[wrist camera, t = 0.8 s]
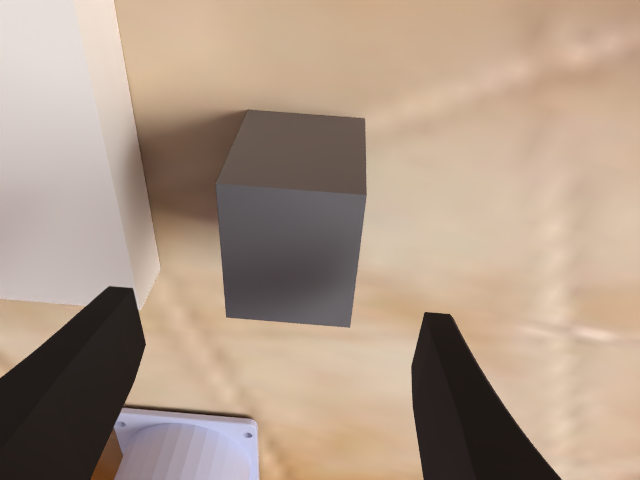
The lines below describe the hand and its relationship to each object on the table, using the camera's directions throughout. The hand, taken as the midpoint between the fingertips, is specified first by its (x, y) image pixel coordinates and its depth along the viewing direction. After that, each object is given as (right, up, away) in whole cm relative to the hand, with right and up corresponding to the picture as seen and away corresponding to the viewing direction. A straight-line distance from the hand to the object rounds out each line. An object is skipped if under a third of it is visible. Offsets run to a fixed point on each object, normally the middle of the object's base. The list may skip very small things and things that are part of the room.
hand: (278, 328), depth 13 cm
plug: (0, +5, +6) cm, 8 cm away
